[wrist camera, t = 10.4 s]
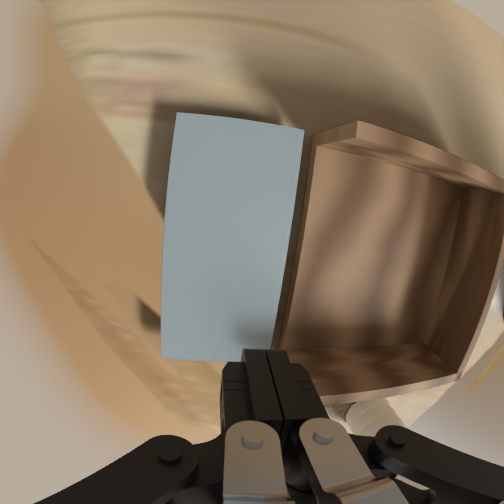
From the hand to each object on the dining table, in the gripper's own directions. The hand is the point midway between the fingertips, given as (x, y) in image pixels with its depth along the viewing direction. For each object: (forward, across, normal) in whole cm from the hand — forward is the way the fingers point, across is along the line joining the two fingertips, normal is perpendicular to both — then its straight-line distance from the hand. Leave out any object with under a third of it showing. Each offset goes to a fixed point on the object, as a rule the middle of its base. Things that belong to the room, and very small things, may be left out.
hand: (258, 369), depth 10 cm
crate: (+18, -16, 0) cm, 24 cm away
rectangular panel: (+16, -4, 0) cm, 17 cm away
